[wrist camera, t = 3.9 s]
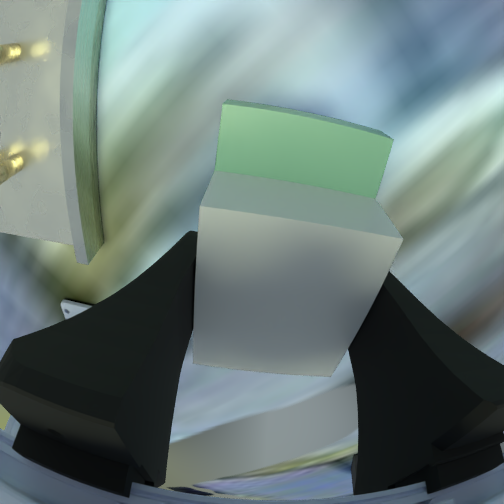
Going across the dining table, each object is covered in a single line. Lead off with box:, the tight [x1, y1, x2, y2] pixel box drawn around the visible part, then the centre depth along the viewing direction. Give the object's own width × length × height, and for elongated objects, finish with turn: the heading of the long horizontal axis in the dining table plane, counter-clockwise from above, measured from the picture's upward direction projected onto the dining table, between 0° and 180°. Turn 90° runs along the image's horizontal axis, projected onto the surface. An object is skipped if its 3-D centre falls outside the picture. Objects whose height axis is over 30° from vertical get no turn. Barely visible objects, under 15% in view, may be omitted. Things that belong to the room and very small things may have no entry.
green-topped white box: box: [193, 99, 403, 377], centre depth 10 cm, size 10×5×4 cm, turn 172°
